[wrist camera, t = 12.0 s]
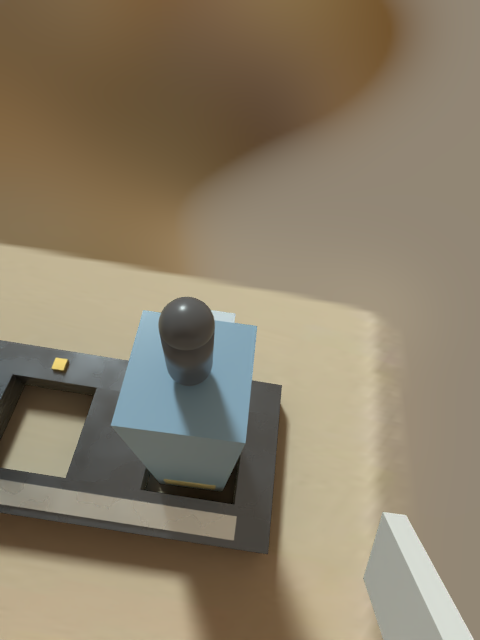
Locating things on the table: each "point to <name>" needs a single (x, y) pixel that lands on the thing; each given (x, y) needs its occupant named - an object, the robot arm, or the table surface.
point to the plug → (187, 394)
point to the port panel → (132, 461)
